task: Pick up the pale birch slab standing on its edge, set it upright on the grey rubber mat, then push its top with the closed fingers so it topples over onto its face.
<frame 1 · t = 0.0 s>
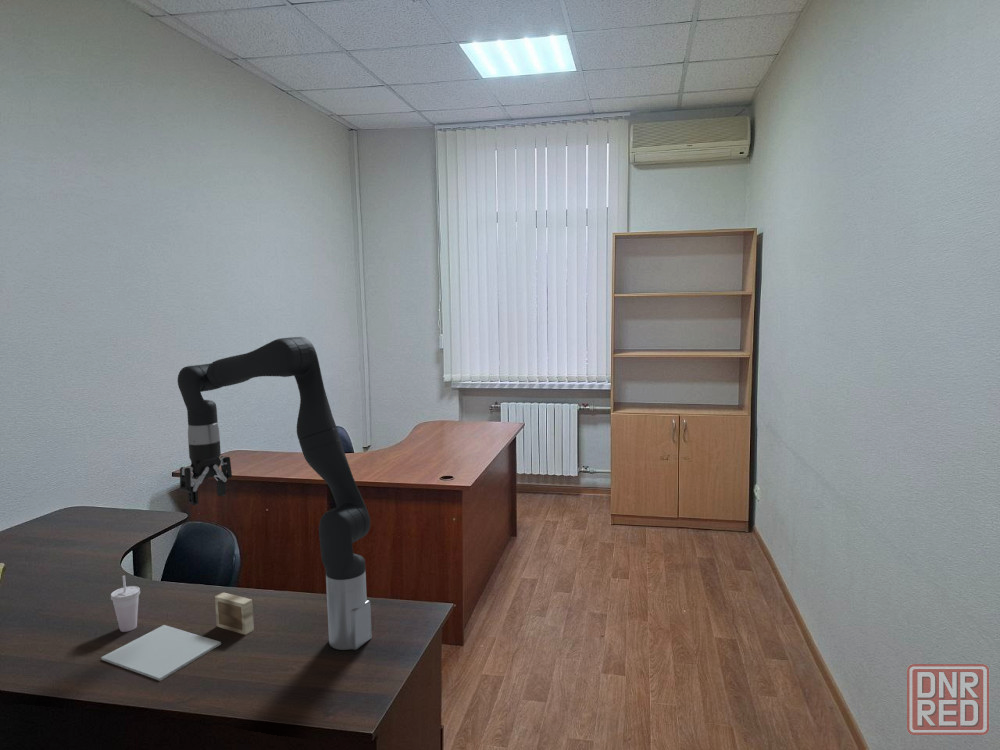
hand: (208, 500, 167), 29 cm above the table, fingers open, 8 cm apart
mat: (162, 651, 148), on the table
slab: (235, 628, 158), on the table
smoothie: (128, 628, 159), on the table
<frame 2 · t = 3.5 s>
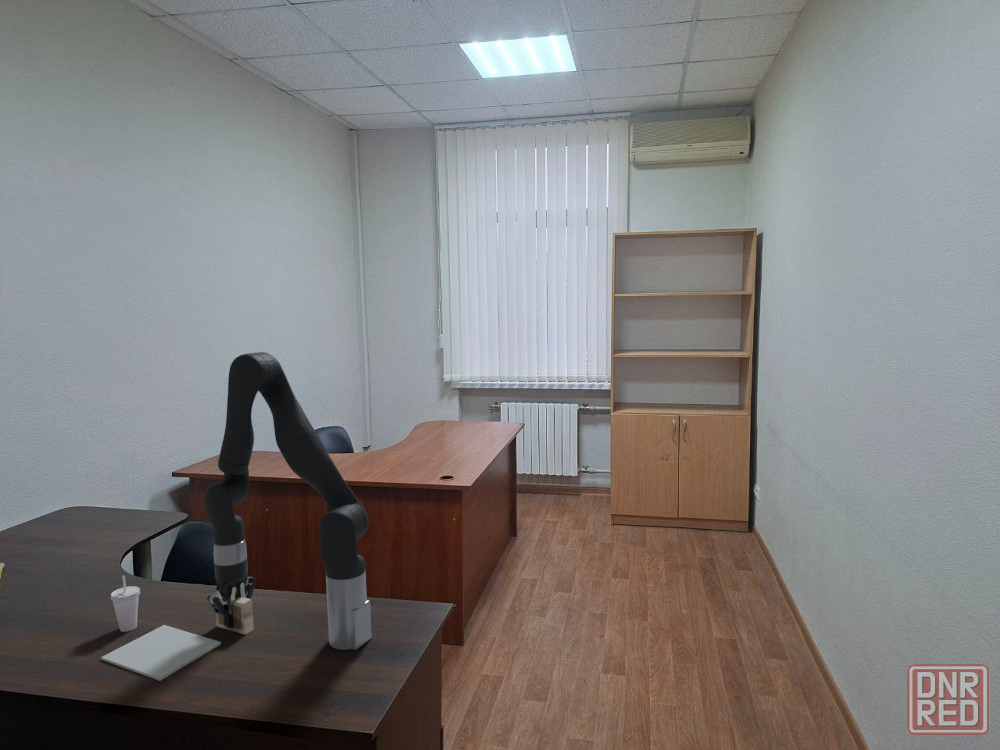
hand: (234, 623, 158), 1 cm above the table, fingers closed on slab, 2 cm apart
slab: (235, 628, 158), on the table, touching gripper
everything else where it was.
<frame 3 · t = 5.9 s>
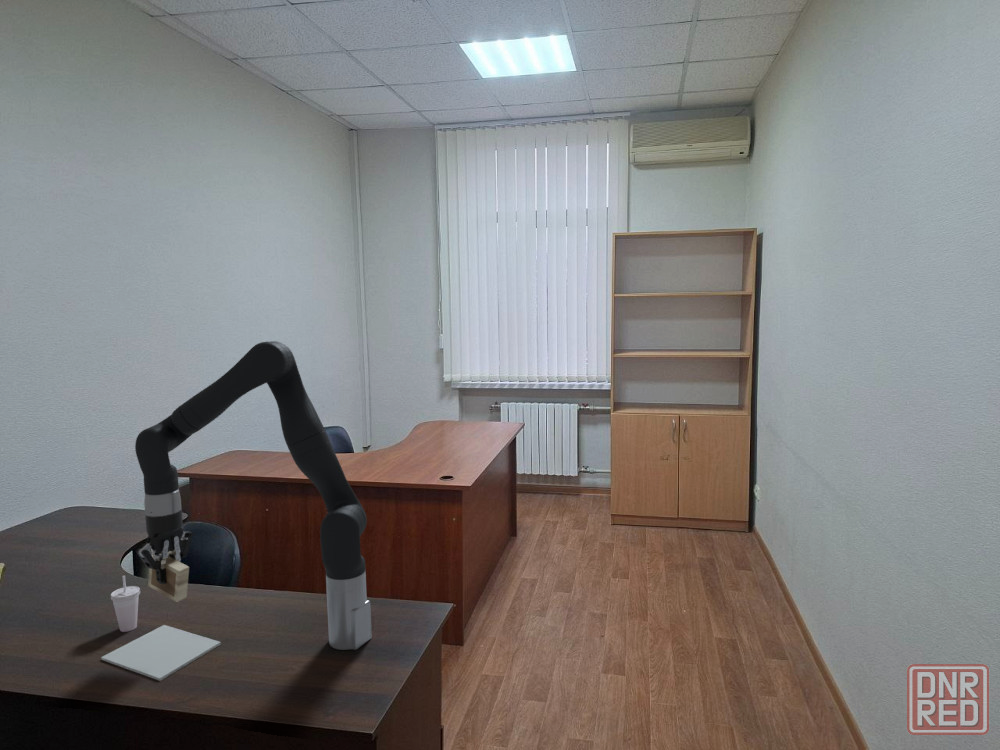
hand: (168, 580, 148), 16 cm above the table, fingers closed on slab, 2 cm apart
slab: (167, 591, 149), point 13 cm above the table, tilted 12°, touching gripper
everything else where it was.
when the fingers open (3 cm above the table, at t = 8.6 s): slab stays where it is, resting on mat.
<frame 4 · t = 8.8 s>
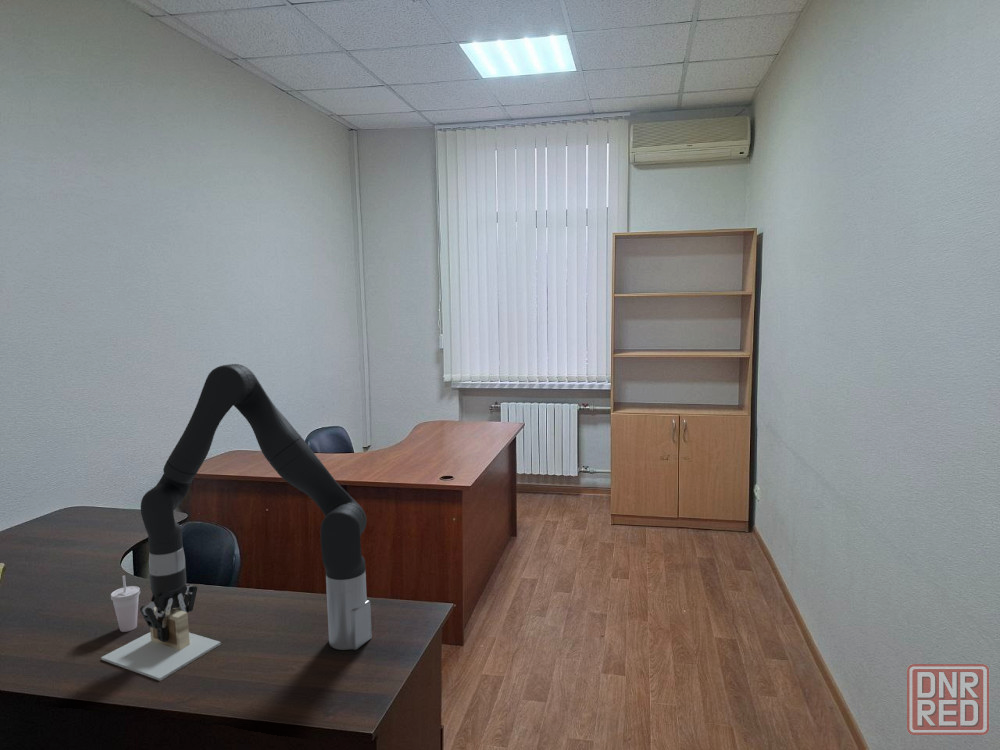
hand: (172, 636, 150), 2 cm above the table, fingers open, 4 cm apart
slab: (170, 642, 150), point 1 cm above the table, touching mat
everything else where it was.
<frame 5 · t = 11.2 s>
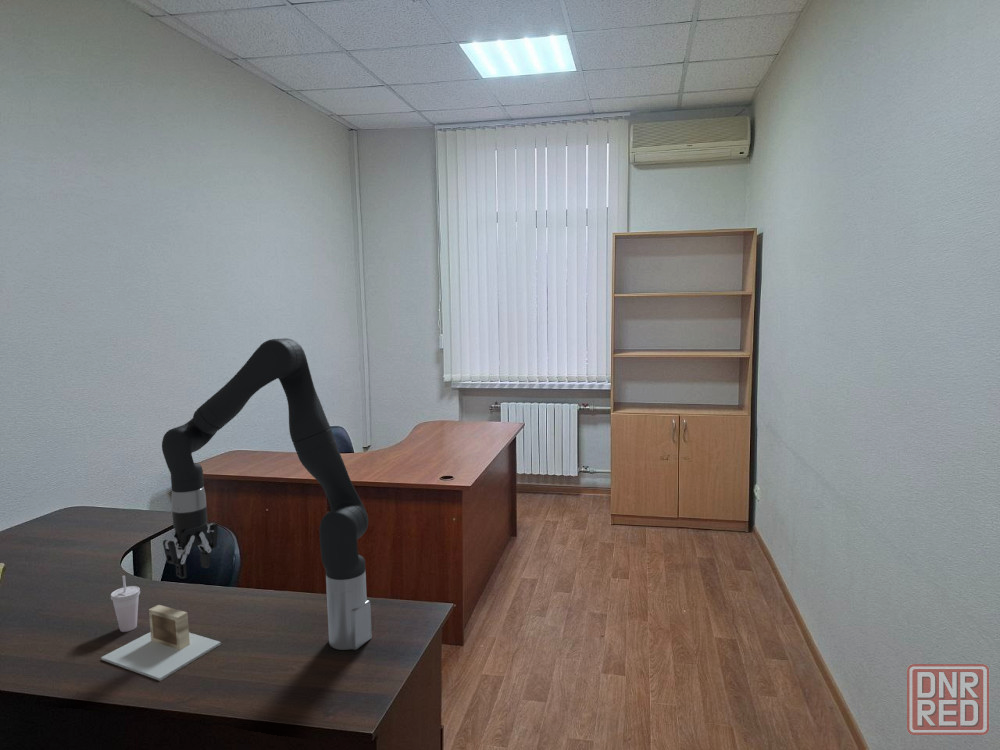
hand: (194, 572, 155), 16 cm above the table, fingers open, 6 cm apart
nothing on the table moved.
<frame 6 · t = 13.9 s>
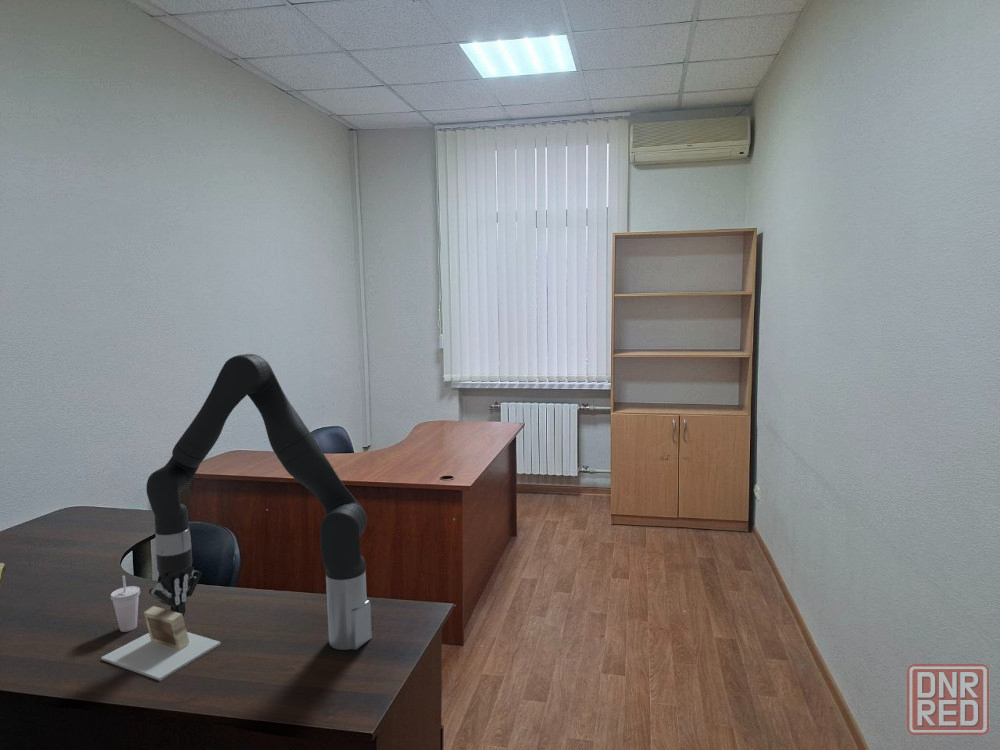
hand: (178, 617, 151), 6 cm above the table, fingers closed
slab: (170, 641, 150), point 1 cm above the table, tilted 10°, touching mat
everything else where it was.
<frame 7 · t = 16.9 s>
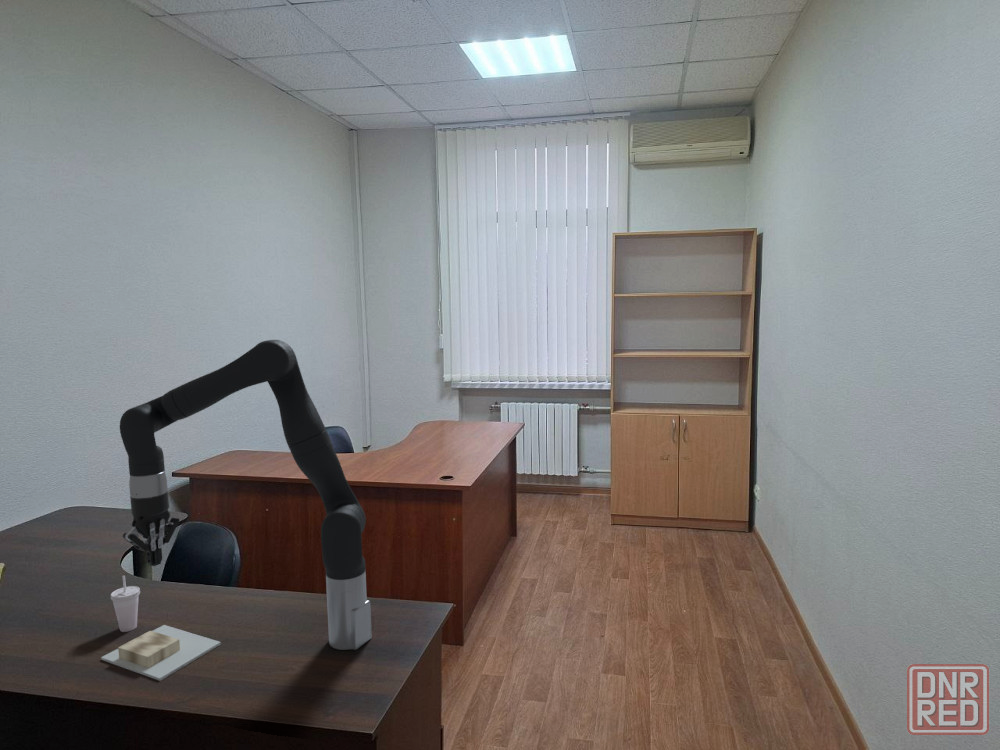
hand: (155, 564, 145), 21 cm above the table, fingers closed
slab: (164, 640, 149), point 2 cm above the table, tilted 90°, touching mat
everything else where it was.
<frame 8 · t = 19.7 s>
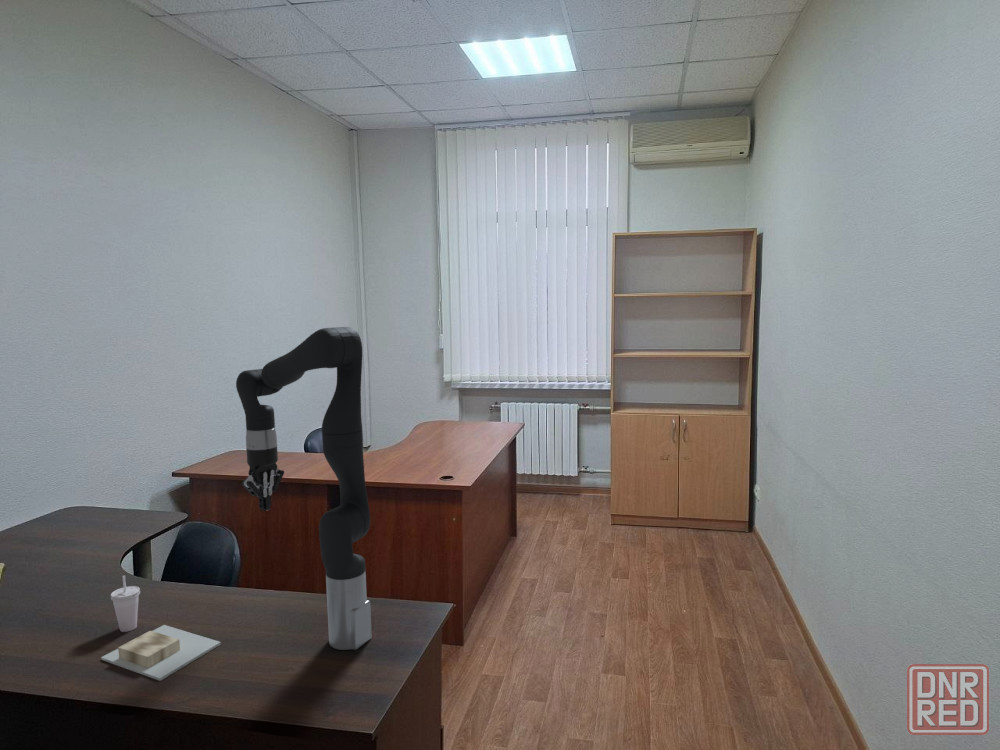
hand: (265, 509, 166), 27 cm above the table, fingers closed
nothing on the table moved.
at the end: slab tilted 90°; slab inside the target area (1.7 cm from its centre), point 1.9 cm above the table; the gripper is holding nothing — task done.
